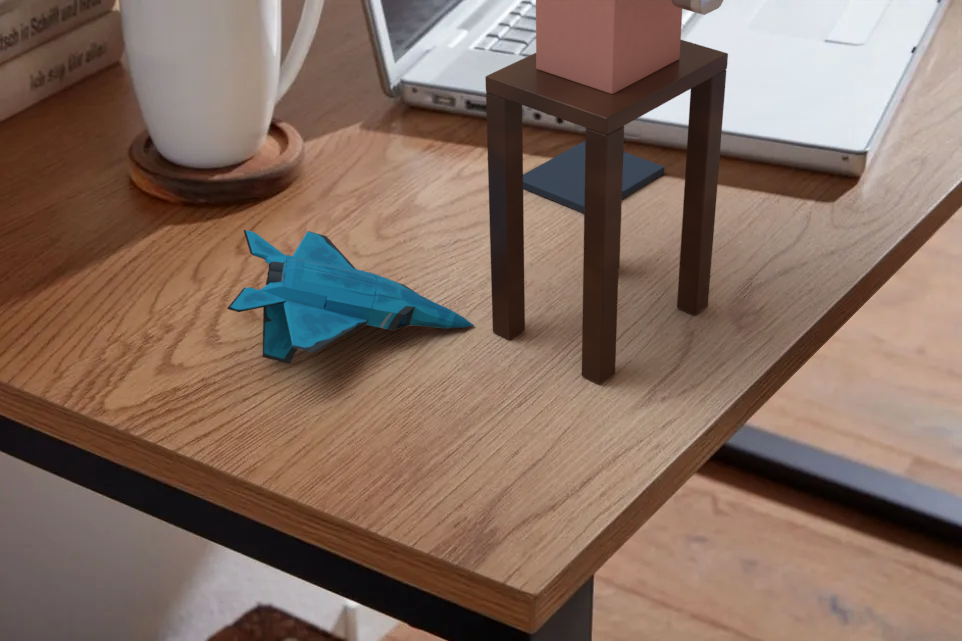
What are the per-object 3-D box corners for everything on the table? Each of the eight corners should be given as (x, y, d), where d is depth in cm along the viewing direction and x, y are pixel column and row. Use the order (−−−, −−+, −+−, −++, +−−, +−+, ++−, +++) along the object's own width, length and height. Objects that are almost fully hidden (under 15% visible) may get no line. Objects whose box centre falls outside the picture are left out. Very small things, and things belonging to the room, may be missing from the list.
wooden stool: (708, 306, 69) (728, 53, 62) (600, 385, 64) (607, 118, 56) (602, 261, 73) (608, 17, 66) (492, 332, 68) (484, 75, 60)
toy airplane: (277, 415, 63) (267, 342, 60) (183, 323, 69) (171, 253, 67) (475, 328, 69) (474, 259, 66) (371, 250, 75) (367, 184, 73)
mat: (664, 173, 82) (664, 166, 81) (592, 217, 78) (592, 209, 77) (588, 145, 85) (588, 138, 85) (515, 185, 81) (515, 178, 81)
